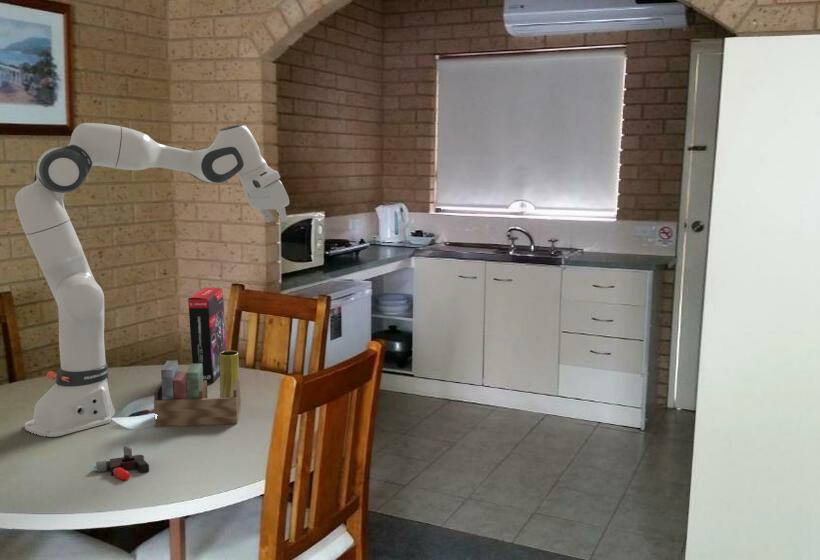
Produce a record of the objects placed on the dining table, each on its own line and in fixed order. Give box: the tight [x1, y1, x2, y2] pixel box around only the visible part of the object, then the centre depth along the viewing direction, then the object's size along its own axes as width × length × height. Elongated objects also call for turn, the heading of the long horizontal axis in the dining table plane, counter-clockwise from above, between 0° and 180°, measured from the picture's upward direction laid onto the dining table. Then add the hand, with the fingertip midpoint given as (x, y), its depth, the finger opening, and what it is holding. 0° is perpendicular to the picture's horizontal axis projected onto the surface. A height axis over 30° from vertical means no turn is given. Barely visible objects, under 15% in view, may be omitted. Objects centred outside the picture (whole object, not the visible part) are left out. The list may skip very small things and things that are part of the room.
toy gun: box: [92, 445, 150, 481], centre depth 170 cm, size 10×12×5 cm
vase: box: [219, 350, 242, 402], centre depth 217 cm, size 6×6×14 cm
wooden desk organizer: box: [153, 360, 242, 428], centre depth 203 cm, size 21×11×15 cm, turn 97°
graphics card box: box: [187, 287, 227, 384], centre depth 239 cm, size 17×7×27 cm, turn 179°
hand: (277, 221), depth 221 cm, fingers open, 8 cm apart
